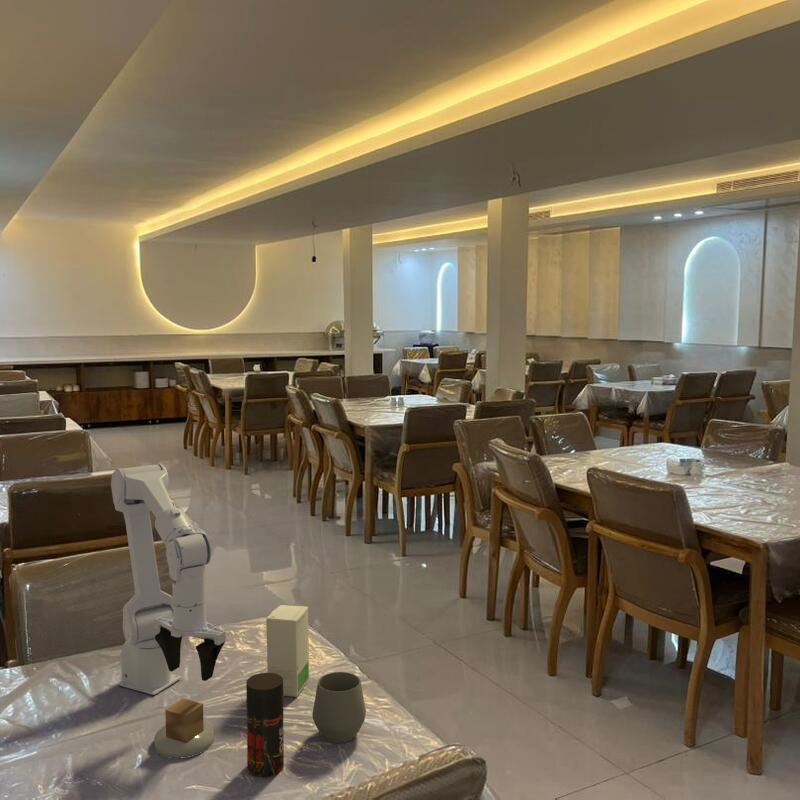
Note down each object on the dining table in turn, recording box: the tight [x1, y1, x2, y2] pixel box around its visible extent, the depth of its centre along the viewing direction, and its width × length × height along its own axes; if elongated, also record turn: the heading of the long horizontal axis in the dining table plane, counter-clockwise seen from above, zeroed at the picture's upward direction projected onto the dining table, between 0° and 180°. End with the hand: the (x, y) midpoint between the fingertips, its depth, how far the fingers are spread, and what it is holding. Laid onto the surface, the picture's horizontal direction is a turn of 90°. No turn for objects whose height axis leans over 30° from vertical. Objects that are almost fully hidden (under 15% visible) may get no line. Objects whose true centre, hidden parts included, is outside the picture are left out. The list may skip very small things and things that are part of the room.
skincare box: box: [265, 604, 310, 698], centre depth 157 cm, size 8×7×16 cm
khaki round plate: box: [153, 720, 215, 759], centre depth 137 cm, size 10×10×2 cm
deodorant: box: [245, 672, 285, 779], centre depth 129 cm, size 6×6×15 cm
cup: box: [311, 671, 367, 744], centre depth 139 cm, size 10×9×10 cm
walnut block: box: [164, 698, 204, 743], centre depth 137 cm, size 4×4×5 cm
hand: (190, 673), depth 142 cm, fingers open, 7 cm apart
